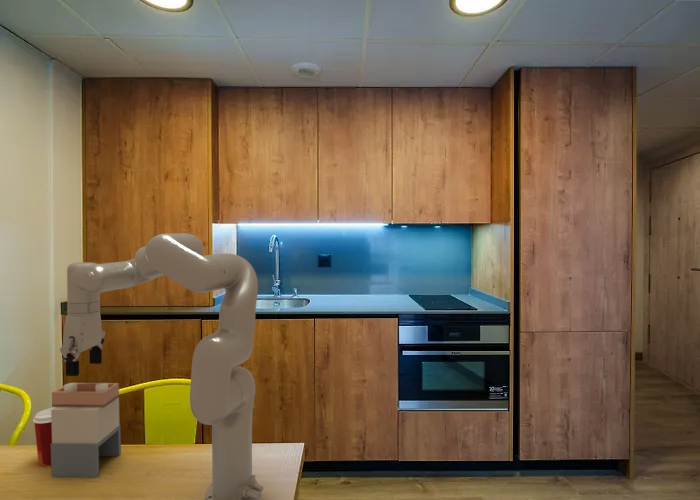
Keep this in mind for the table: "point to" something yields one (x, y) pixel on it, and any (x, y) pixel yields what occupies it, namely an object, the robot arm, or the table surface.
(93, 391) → the tray
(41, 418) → the paper cup
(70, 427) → the counter unit
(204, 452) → the table surface
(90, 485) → the table surface
